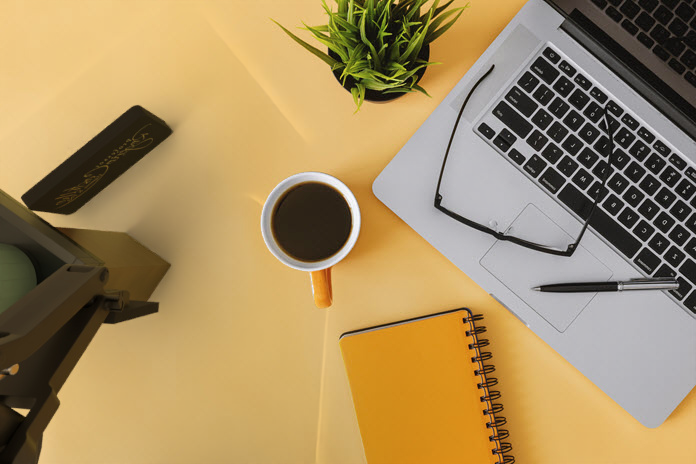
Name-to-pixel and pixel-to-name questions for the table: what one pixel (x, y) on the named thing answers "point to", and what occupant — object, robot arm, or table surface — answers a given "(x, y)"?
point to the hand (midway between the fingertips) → (134, 394)
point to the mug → (14, 275)
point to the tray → (39, 240)
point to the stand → (123, 260)
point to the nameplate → (98, 162)
